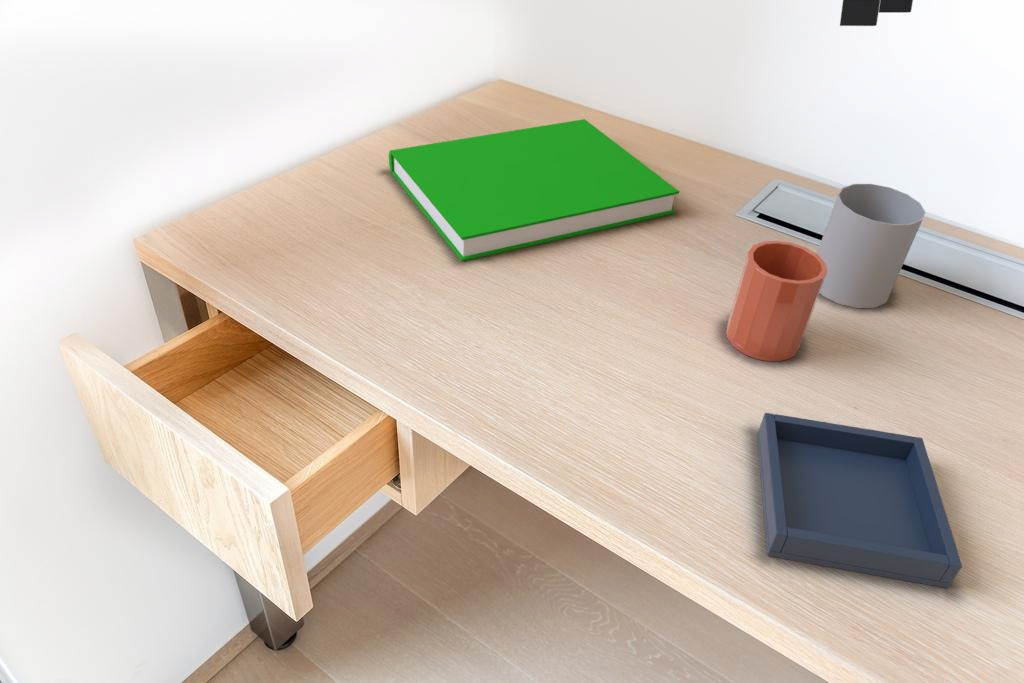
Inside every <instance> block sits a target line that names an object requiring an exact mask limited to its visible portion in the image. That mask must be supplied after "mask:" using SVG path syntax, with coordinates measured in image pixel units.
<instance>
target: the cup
mask: <svg viewBox="0 0 1024 683" xmlns="http://www.w3.org/2000/svg"><path fill="white" fill-rule="evenodd" d="M925 210H926V209H924V207H923V205H922V204H921V202H920V201H918V200H916V199H915V198H913V197H912V196H911V195H909V194H908V193H906V192H903V191H900V190H897V189H894V188H892V187H890V186H883V185H880V184H874V183H852V184H849V185H846V186H843V187H841V189H840V191H839V192H838V194H837V195H836V198H835V202H834V204H833V206H832V210H831V212H830V215H829V217H828V221H827V224H826V227H825V229H824V232H823V235H822V237H821V240H820V244H819V246H818V249H817V252H816V254H818V255H819V256H820V257H821V258H822V260H823V261H824V262H825V263H826V267H827V274H826V277H825V280H824V282H823V285H822V288H821V291H820V293H819V295H821V296H822V297H824V298H826V299H828V300H830V301H833V302H834V303H836V304H838V305H843V306H847V307H851V308H856V309H875V308H878V307H880V306H882V305H884V304H887V302H888V300H889V298H890V295H891V293H892V290H893V288H894V286H895V284H896V282H897V279H898V277H899V274H900V272H901V270H902V268H903V265H904V264H905V261H906V259H907V257H908V254H909V252H910V250H911V247H912V245H913V243H914V240H915V239H916V235H917V234H918V231H919V229H920V226H921V224H922V222H923V220H924V217H925V215H926V211H925Z"/></svg>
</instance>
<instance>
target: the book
mask: <svg viewBox="0 0 1024 683" xmlns="http://www.w3.org/2000/svg"><path fill="white" fill-rule="evenodd" d="M388 167H389V170H390V173H391V174H392V176H393V177H394V178H395V179H396V181H397V182H398V184H400V186H401V187H402V189H403V190H404V191H405V192H406V193H407V194H408V196H409V197H410V198H411V200H412V201H413V202H414V204H416V206H417V207H418V208H419V210H420V211H421V212H422V214H423V215H424V216H425V218H426V219H427V220H428V221H429V222H430V223H431V225H432V226H433V227H434V228H435V230H436V231H437V233H439V235H440V236H441V237H442V239H443V240H444V241H445V242H446V244H447V245H448V246H449V247H450V249H451V250H452V251H453V252H454V254H455V255H456V256H457V257H458V259H459V260H460V262H465V261H471V260H474V259H479V258H483V257H484V258H485V257H489V256H492V255H497V254H501V253H505V252H509V251H510V252H511V251H515V250H519V249H524V248H527V247H528V248H529V247H532V246H537V245H540V244H546V243H550V242H555V241H558V240H563V239H568V238H572V237H577V236H581V235H587V234H590V233H595V232H599V231H603V230H608V229H613V228H617V227H622V226H625V225H630V224H634V223H639V222H644V221H647V220H652V219H658V218H661V217H666V216H671V215H675V213H676V210H675V209H673V203H674V199H675V196H676V195H679V194H680V190H679V189H677V188H676V187H674V186H673V185H672V184H671V183H669V182H668V181H667V180H665V179H664V178H662V177H661V176H660V175H659V174H658V173H656V172H655V171H654V170H652V169H651V168H650V167H648V166H647V165H646V164H644V163H643V162H642V161H640V160H639V159H638V158H637V157H635V156H634V155H632V154H631V153H630V152H629V151H627V150H626V149H624V148H623V147H622V146H621V145H619V144H618V143H617V142H616V141H614V140H613V139H612V138H610V137H609V136H607V135H606V134H605V133H604V132H603V131H601V130H600V129H599V128H597V127H596V126H594V125H593V124H592V123H590V122H589V121H588V119H587V120H586V118H583V119H576V120H570V121H564V122H558V123H551V124H546V125H539V126H533V127H527V128H526V127H525V128H521V129H514V130H507V131H502V132H501V131H500V132H495V133H490V134H483V135H477V136H471V137H465V138H459V139H452V140H446V141H440V142H434V143H426V144H420V145H415V146H409V147H408V146H407V147H402V148H397V149H390V150H389V152H388Z"/></svg>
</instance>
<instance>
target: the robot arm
mask: <svg viewBox="0 0 1024 683" xmlns="http://www.w3.org/2000/svg"><path fill="white" fill-rule="evenodd" d="M913 2H914V0H842V5H841V12H840V21H839V26H840V27H876V26H877V24H878V19H879V14H881V13H884V14H885V13H893V14H894V13H898V14H899V13H901V14H902V13H903V14H905V13H911V12H912V9H913Z"/></svg>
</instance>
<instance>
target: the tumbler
mask: <svg viewBox="0 0 1024 683" xmlns="http://www.w3.org/2000/svg"><path fill="white" fill-rule="evenodd" d="M826 274H827V267H826V263H825V262H824V261H823V260H822V258H821V257H820V256H819V255H818V254H817V252H814V251H813V250H812V249H809V248H807V247H805V246H802V245H800V244H798V243H795V242H794V243H793V242H791V241H783V240H767V241H765V240H764V241H761V242H758V243H756V244H753V245H752V246H751V247H750V249H749V250H748V251H747V253H746V257H745V260H744V264H743V267H742V270H741V275H740V278H739V281H738V284H737V289H736V292H735V295H734V296H735V297H734V299H733V303H732V306H731V309H730V313H729V317H728V320H727V324H726V325H727V326H726V330H725V333H726V337H727V340H728V341H729V343H730V344H731V345H732V347H734V348H735V349H736V350H737V351H739V352H741V353H742V354H744V355H746V356H748V357H750V358H753V359H757V360H760V361H765V362H781V361H786V360H788V359H791V358H793V357H795V355H796V354H797V353H798V351H799V349H800V346H801V344H802V342H803V340H804V336H805V334H806V331H807V328H808V325H809V323H810V320H811V318H812V315H813V312H814V310H815V307H816V304H817V301H818V299H819V296H820V291H821V288H822V285H823V282H824V280H825V277H826Z"/></svg>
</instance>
